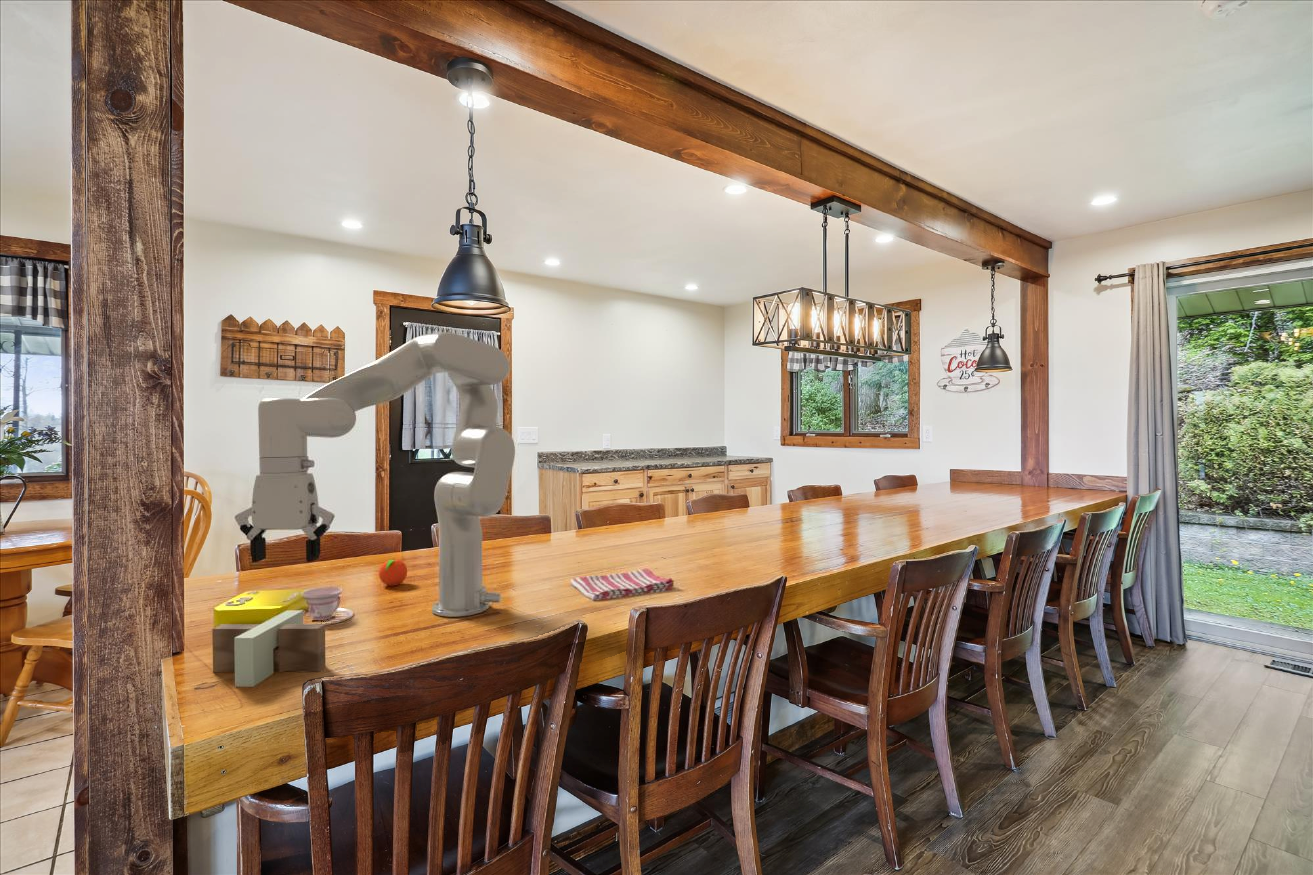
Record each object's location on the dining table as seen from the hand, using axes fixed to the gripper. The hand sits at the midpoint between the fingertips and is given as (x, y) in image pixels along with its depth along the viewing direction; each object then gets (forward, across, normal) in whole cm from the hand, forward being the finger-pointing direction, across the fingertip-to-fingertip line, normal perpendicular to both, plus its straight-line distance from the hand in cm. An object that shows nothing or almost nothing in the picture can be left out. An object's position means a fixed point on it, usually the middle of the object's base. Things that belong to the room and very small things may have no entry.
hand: (285, 560), depth 115 cm
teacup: (+18, +5, -23) cm, 30 cm away
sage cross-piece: (+18, 0, +5) cm, 19 cm away
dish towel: (+19, -59, -49) cm, 79 cm away
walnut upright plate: (+18, 0, +5) cm, 19 cm away
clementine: (+18, +1, -51) cm, 54 cm away
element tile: (+19, +19, -25) cm, 37 cm away
